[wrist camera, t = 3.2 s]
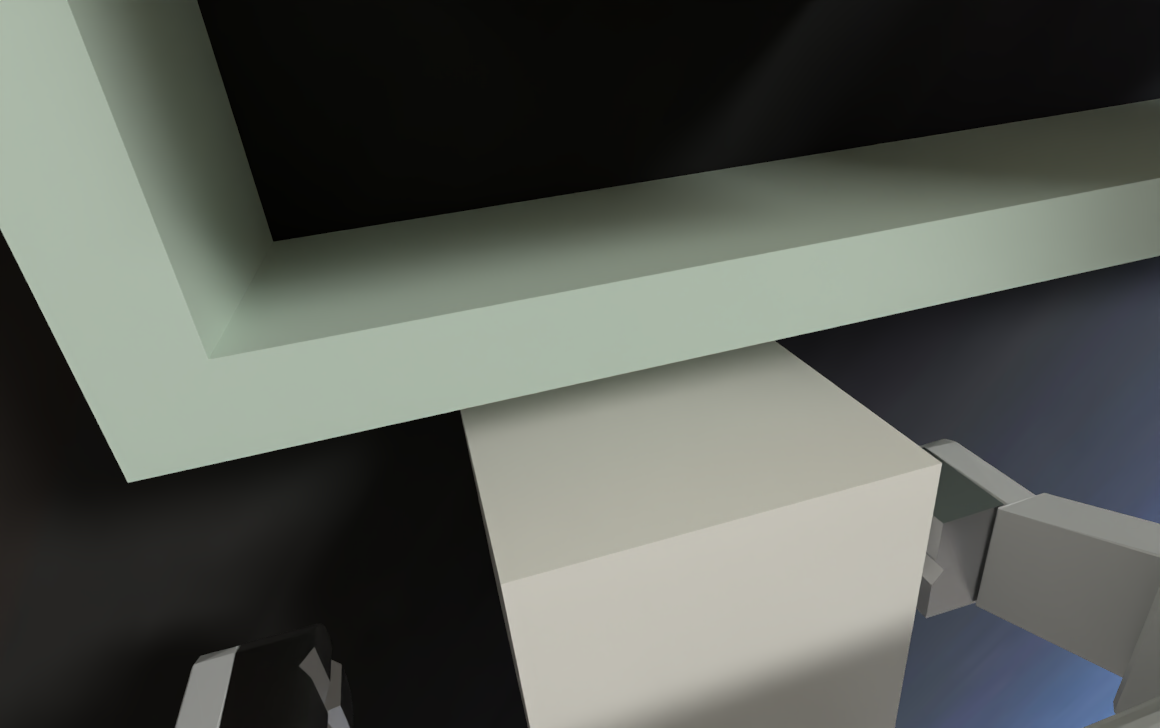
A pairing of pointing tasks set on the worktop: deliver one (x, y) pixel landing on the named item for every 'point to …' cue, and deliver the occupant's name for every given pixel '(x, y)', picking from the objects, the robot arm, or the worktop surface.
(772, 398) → the cream block
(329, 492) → the worktop surface
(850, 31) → the worktop surface
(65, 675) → the worktop surface
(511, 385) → the tote
